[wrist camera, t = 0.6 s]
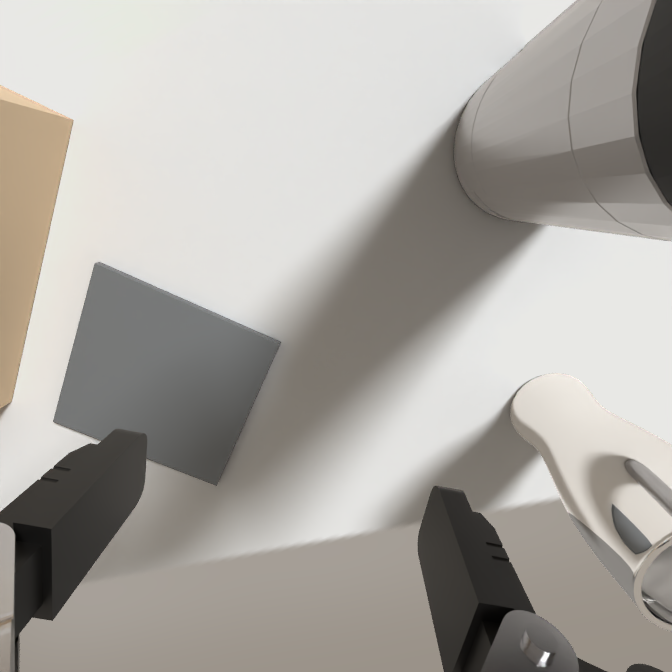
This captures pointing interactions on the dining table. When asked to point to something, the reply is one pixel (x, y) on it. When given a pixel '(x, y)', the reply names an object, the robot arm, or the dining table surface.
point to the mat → (162, 373)
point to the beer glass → (606, 484)
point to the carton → (24, 215)
